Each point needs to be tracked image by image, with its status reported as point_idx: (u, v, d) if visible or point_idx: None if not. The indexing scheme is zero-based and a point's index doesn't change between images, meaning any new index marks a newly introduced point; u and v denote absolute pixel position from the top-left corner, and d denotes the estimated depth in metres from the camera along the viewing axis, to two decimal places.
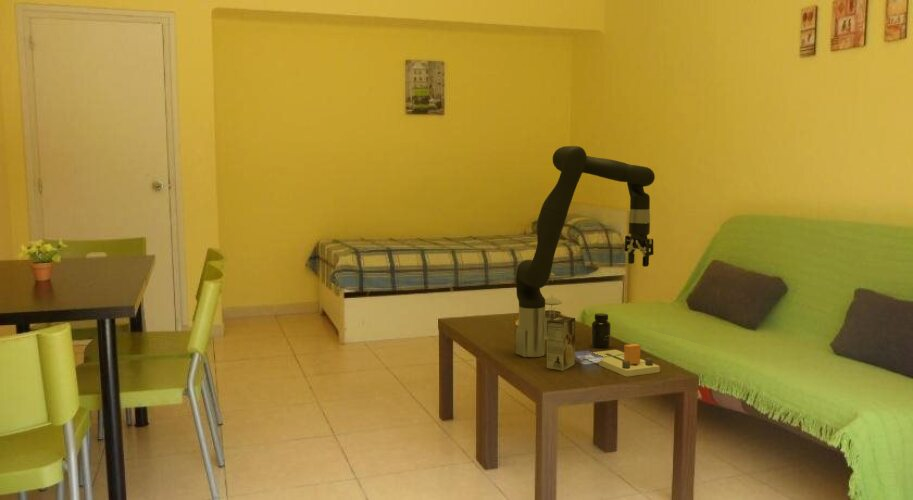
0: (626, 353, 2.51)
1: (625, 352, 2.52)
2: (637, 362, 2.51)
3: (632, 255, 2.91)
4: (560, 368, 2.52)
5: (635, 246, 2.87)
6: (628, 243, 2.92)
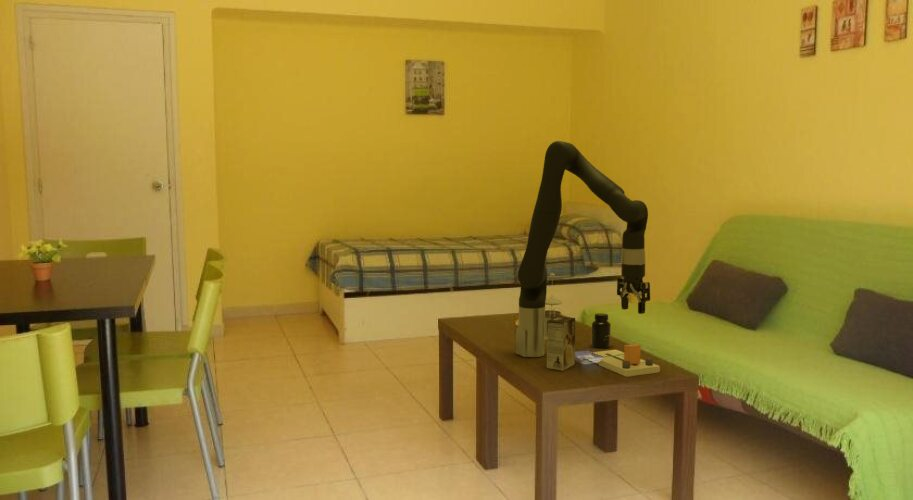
0: (626, 353, 2.51)
1: (625, 352, 2.52)
2: (637, 362, 2.51)
3: (626, 300, 2.56)
4: (560, 368, 2.52)
5: (629, 290, 2.52)
6: (621, 286, 2.57)
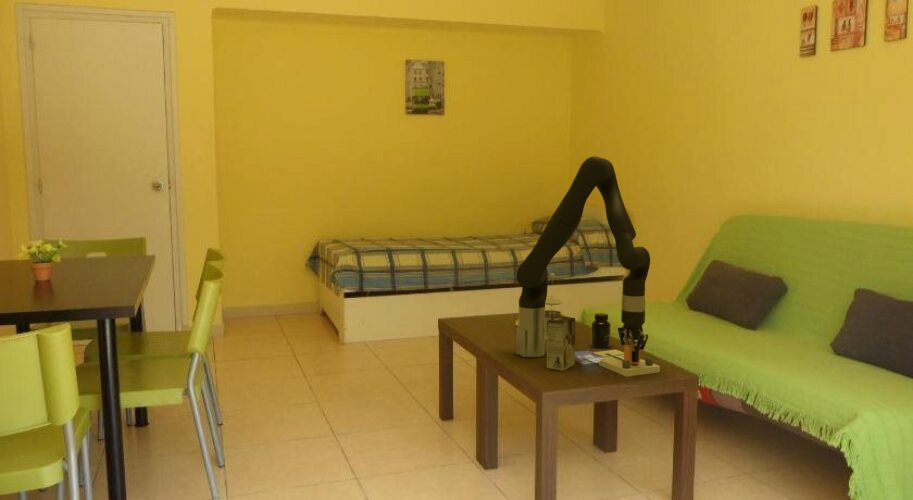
0: (626, 353, 2.51)
1: (625, 352, 2.52)
2: (637, 362, 2.51)
3: None
4: (560, 368, 2.52)
5: None
6: (623, 335, 2.55)
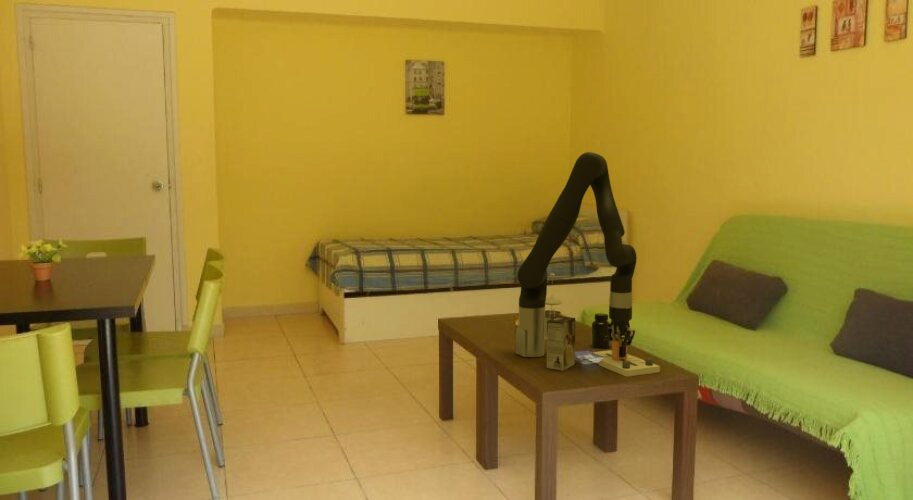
0: (613, 348, 2.57)
1: (613, 347, 2.58)
2: (624, 357, 2.58)
3: None
4: (560, 368, 2.52)
5: None
6: (611, 331, 2.61)
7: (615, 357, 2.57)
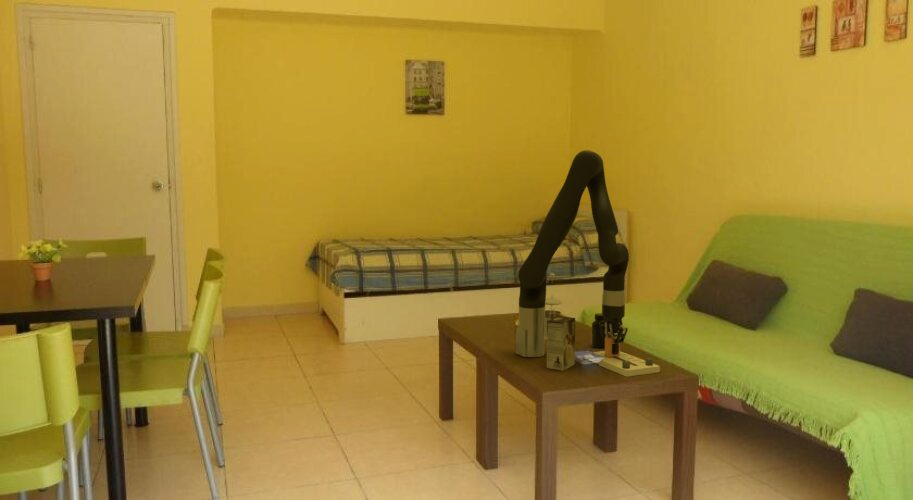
0: (606, 346, 2.61)
1: (606, 345, 2.61)
2: (617, 354, 2.61)
3: None
4: (560, 368, 2.52)
5: None
6: (604, 329, 2.65)
7: (608, 354, 2.60)
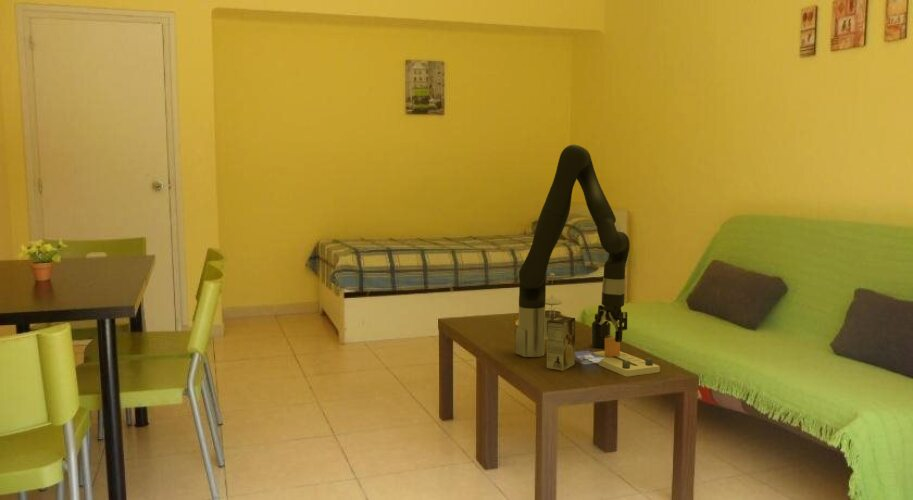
0: (606, 346, 2.61)
1: (605, 345, 2.62)
2: (617, 354, 2.62)
3: (605, 327, 2.64)
4: (560, 368, 2.52)
5: (608, 318, 2.60)
6: (601, 313, 2.65)
7: (608, 354, 2.61)
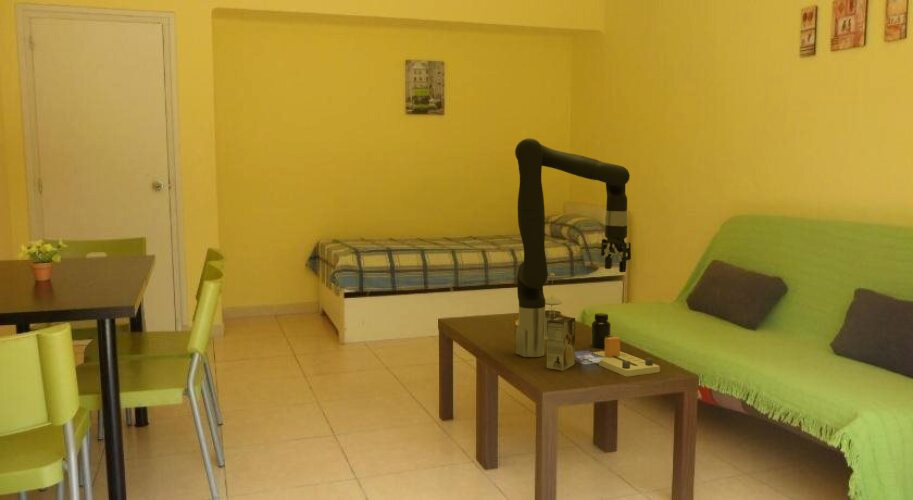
0: (606, 346, 2.61)
1: (605, 345, 2.62)
2: (617, 354, 2.62)
3: (609, 260, 2.72)
4: (560, 368, 2.52)
5: (612, 250, 2.68)
6: (605, 247, 2.73)
7: (608, 354, 2.61)
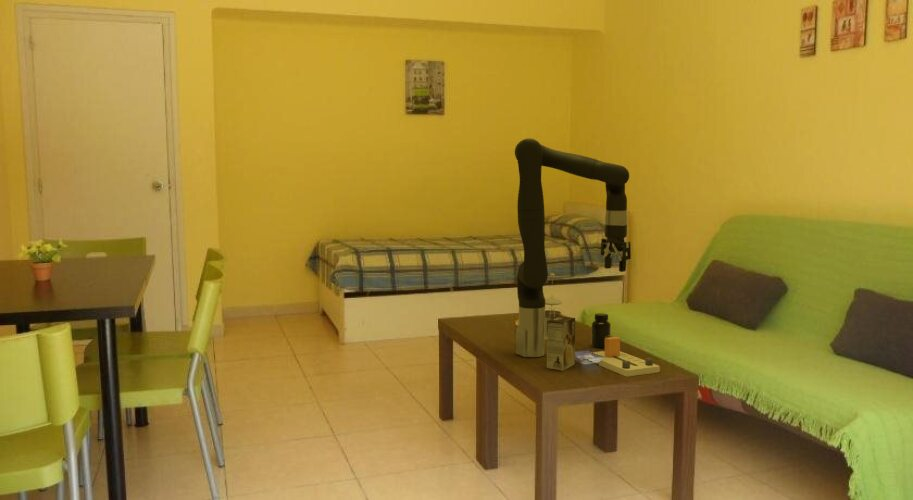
0: (606, 346, 2.61)
1: (605, 345, 2.62)
2: (617, 354, 2.62)
3: (609, 259, 2.72)
4: (560, 368, 2.52)
5: (611, 250, 2.68)
6: (604, 246, 2.73)
7: (608, 354, 2.61)
